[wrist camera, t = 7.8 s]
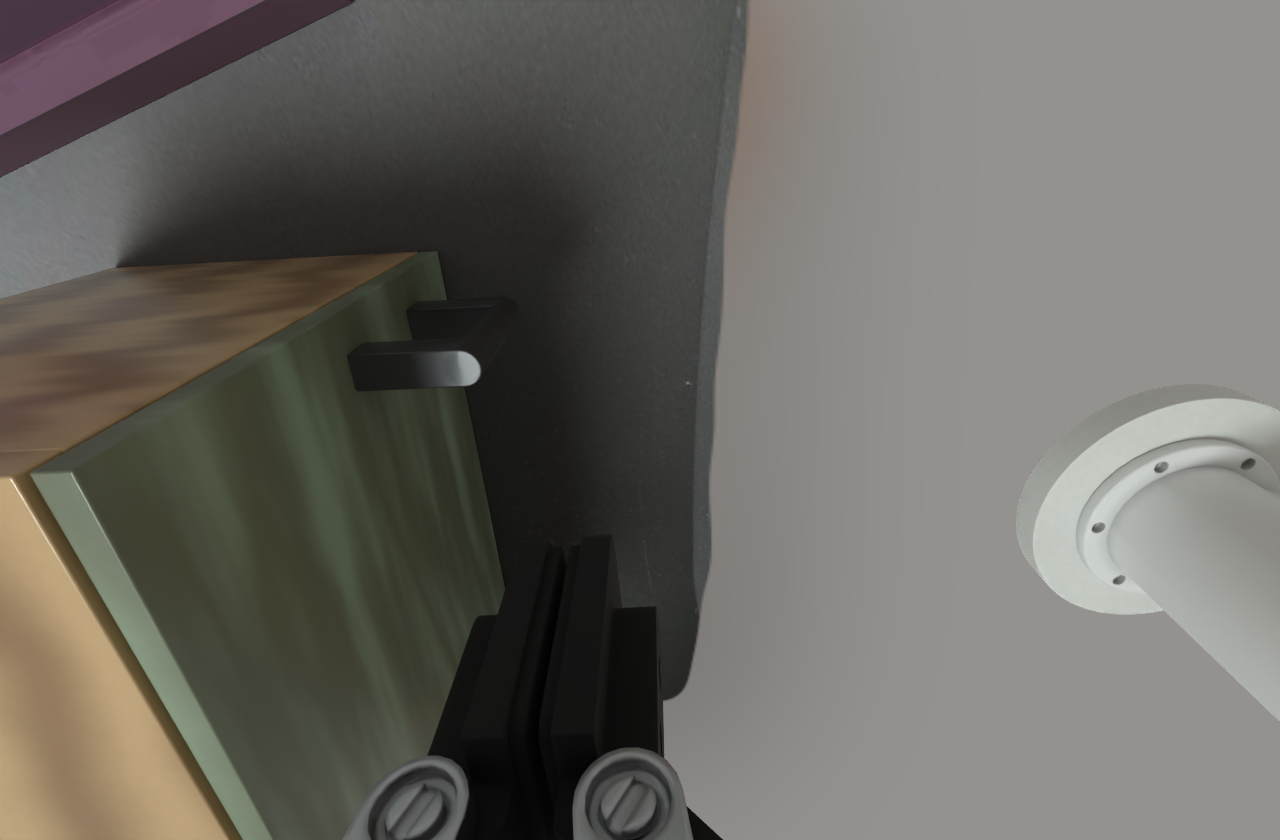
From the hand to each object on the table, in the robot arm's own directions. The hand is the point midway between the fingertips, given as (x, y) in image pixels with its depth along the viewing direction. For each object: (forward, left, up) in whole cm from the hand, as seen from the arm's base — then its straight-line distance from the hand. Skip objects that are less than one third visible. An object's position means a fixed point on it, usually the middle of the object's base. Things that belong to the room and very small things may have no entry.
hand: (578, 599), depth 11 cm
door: (+9, +11, -26) cm, 30 cm away
